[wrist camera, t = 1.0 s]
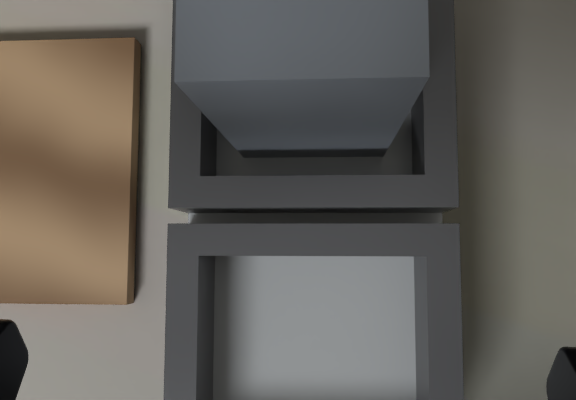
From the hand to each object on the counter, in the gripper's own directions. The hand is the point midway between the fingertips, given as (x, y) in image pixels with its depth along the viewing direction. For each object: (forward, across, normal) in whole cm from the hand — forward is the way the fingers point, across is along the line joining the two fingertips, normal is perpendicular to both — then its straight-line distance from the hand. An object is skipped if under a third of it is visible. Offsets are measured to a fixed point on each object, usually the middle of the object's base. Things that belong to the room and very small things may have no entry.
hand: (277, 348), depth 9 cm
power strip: (+11, 0, +8) cm, 13 cm away
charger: (+13, 0, +1) cm, 13 cm away
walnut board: (+13, +13, +5) cm, 19 cm away
